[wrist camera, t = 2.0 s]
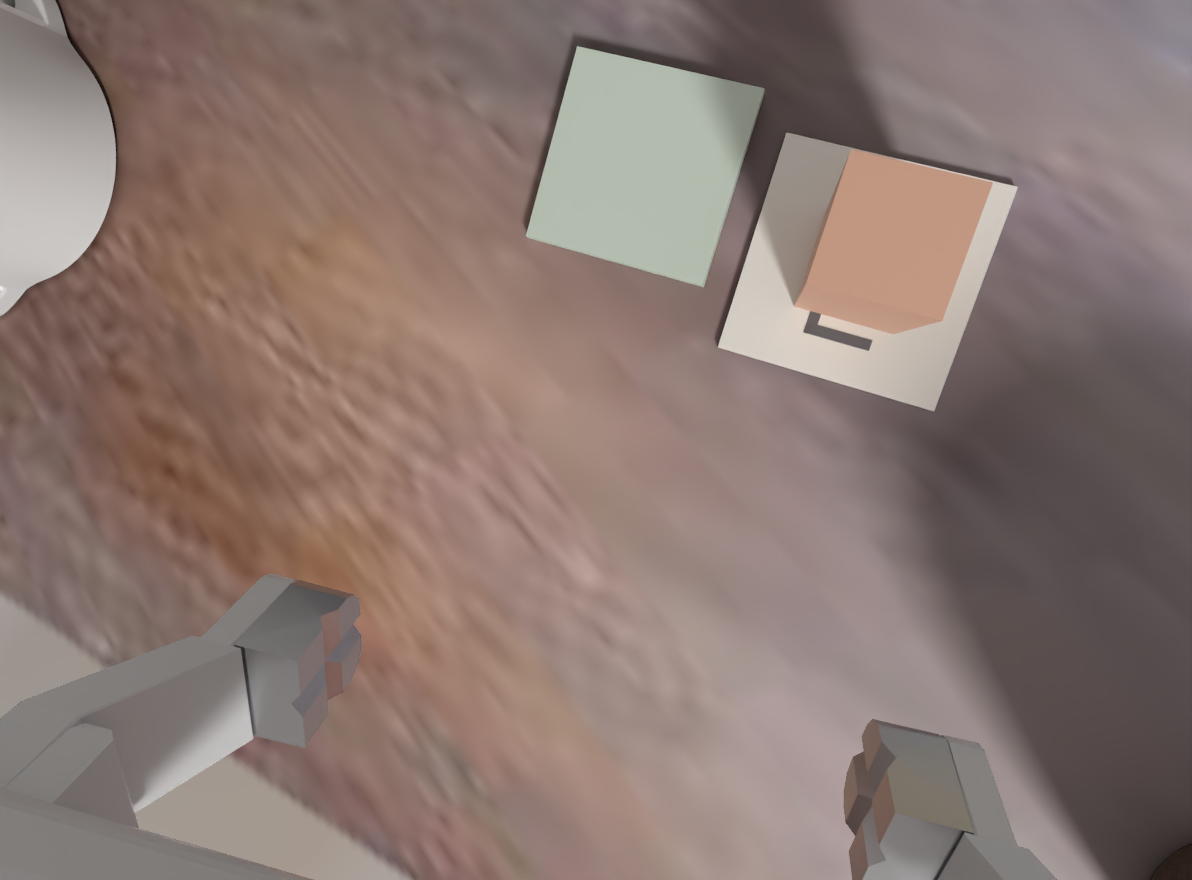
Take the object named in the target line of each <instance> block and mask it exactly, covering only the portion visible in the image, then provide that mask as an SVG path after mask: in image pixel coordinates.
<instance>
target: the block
mask: <svg viewBox="0 0 1192 880" xmlns="http://www.w3.org/2000/svg"><path fill="white" fill-rule="evenodd" d="M992 184H993V182H989V181H985V180H981V179H976V178H972V177H968V176H964V175H959V174H955V173H951V172H947V171H942V170H938V169H934V168H930V167H925V166H921V165H917V164H913V163H908V162H904V161H900V160H896V159H892V158H887V157H883V156H879V155H875V154H870V153H866V152H862V151H858V150H853V149H851V150H850V153H849V155H848V158H847V160H846V163H845V165H844V168H843V170H842V173H841V175H840V177H839V180H838V182H837V185H836V187H835V190H834V192H833V195H832V197H831V200H830V202H829V205H828V207H827V210H826V213H825V216H824V219H823V222H822V225H821V228H820V231H819V234H818V237H817V240H816V243H815V246H814V249H813V252H812V255H811V258H810V261H809V264H808V267H807V270H806V273H805V276H804V279H803V282H802V285H801V288H800V291H799V294H798V297H797V300H796V303H795V306H794V307H798V308H801V309H805V310H808V311H812V312H816V313H819V314H823V315H826V316H830V317H833V318H837V319H841V320H844V321H848V322H851V323H855V324H858V325H862V326H866V327H869V328H873V329H876V330H880V331H883V332H887V333H891V334H896V333H900V332H903V331H907V330H911V329H915V328H918V327H922V326H926V325H929V324H933V323H937V322H940V321H942V320H943V318H944V315H945V312H946V309H947V307H948V304H949V301H950V299H951V296H952V293H953V290H954V288H955V285H956V282H957V279H958V277H959V274H960V271H961V269H962V266H963V263H964V260H965V258H966V255H967V252H968V250H969V247H970V244H971V241H972V239H973V236H974V233H975V231H976V228H977V225H978V222H979V220H980V217H981V214H982V212H983V209H984V206H985V203H986V201H987V198H988V195H989V192H990V190H991V187H992Z"/></svg>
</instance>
